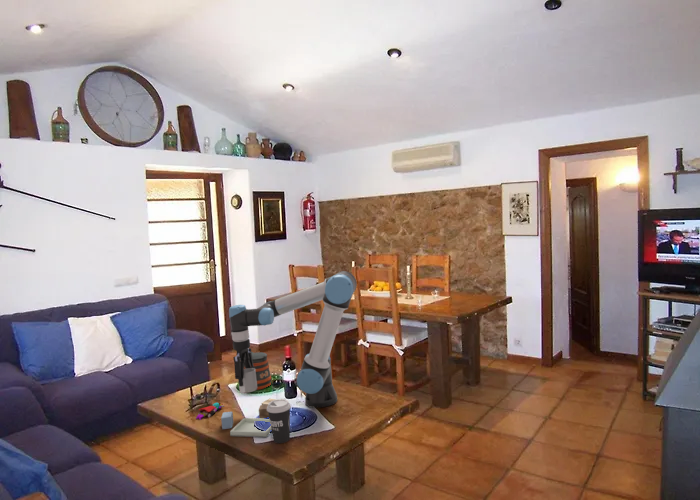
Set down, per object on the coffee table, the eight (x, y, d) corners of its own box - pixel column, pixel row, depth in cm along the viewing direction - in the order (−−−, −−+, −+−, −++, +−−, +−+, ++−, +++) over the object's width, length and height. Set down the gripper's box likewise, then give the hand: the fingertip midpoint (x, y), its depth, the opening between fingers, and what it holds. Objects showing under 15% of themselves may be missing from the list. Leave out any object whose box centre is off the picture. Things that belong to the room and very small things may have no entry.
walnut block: (272, 415, 223) (271, 404, 223) (271, 419, 218) (270, 408, 218) (261, 416, 223) (260, 405, 223) (259, 420, 218) (258, 409, 218)
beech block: (270, 406, 234) (269, 398, 233) (277, 407, 232) (276, 399, 231) (262, 411, 228) (261, 403, 228) (269, 412, 226) (268, 404, 226)
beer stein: (232, 387, 264) (228, 350, 262) (251, 378, 276) (248, 343, 275) (259, 392, 254) (255, 353, 252) (277, 382, 266) (274, 346, 264)
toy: (204, 421, 223) (227, 408, 236) (203, 413, 222) (227, 400, 235) (192, 419, 227) (216, 406, 240) (191, 410, 226) (215, 398, 239)
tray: (278, 423, 214) (278, 418, 213) (266, 437, 201) (266, 432, 201) (244, 422, 217) (243, 418, 217) (230, 436, 205) (230, 431, 205)
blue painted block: (233, 422, 219) (232, 411, 218) (231, 428, 213) (230, 416, 212) (224, 423, 218) (223, 412, 218) (222, 429, 212) (221, 418, 212)
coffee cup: (270, 435, 202) (267, 399, 201) (294, 432, 203) (290, 397, 202) (268, 446, 193) (265, 408, 192) (293, 443, 194) (290, 406, 192)
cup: (248, 393, 220) (246, 374, 219) (234, 390, 226) (231, 371, 225) (260, 388, 225) (258, 369, 225) (246, 385, 232) (244, 366, 231)
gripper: (243, 334, 234) (248, 381, 236) (222, 346, 214) (229, 397, 216) (257, 333, 232) (263, 381, 234) (238, 345, 213) (244, 397, 214)
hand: (246, 389), depth 225 cm, fingers closed on cup, 7 cm apart
